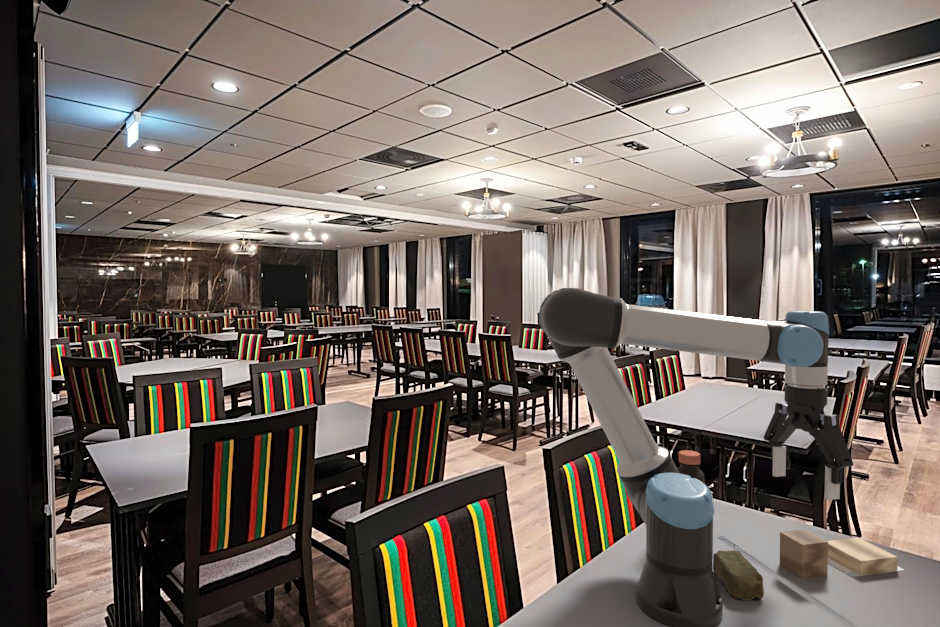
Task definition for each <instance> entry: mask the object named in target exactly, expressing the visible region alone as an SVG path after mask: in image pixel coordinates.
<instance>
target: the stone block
mask: <svg viewBox="0 0 940 627" xmlns="http://www.w3.org/2000/svg"><path fill="white" fill-rule="evenodd" d="M712 570H713V573H714V575H716V577H717V578H718V579H719V581H720V582H722V584H723V585H724V588H726V590H727V591H728V592H729V594H730V595H731V596H732V597H733V598H734V599H741V600H742V601H752V600H753V599H755V598H757V599H760V600H761V599H763V597H764V595H765V592H764V591H765V589H764V588H765V587H764V577H763V576H762V574H760V573H759V572H758V570H757V568H756V567H754V566H753V564H752V563H751V562H750V561H749V560H748V559H747V558H746V557H745V556H744V555H743V553H741V552H740V551H739V550H736V549H734V550H718V551H717V552H714V553H713V560H712Z"/></svg>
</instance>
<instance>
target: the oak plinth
mask: <svg viewBox="0 0 940 627" xmlns="http://www.w3.org/2000/svg"><path fill="white" fill-rule="evenodd" d="M826 541H827V542H828V557H829V558H830V559H832V560H834V561H836V562H837V563H839V564H841V565H843V566H845V567H846V568H848V569H850V570H852V571H853V572H855V573H857V574H859V575H861V576H860V577H862V575H864V576H871V575H870V574H872V575H878V573H880V574H887V573H894V572H893V571H895V572H898V571H897V566H898V556H897V555H895V554H893V553H890V552H888V551H886V550H884V549H883V548H880V547H879V546H876V545H874V544H872V543H870V542H868V541H866V540H864V539H861V538H860V537H852V538H851V537H850V538H843V539H835V540H834V539H832V540H826ZM886 572H887V573H886Z"/></svg>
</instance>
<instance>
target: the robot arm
mask: <svg viewBox="0 0 940 627" xmlns="http://www.w3.org/2000/svg"><path fill="white" fill-rule="evenodd" d="M538 321H539V325H540V327H541V329H542V331H543V332H544V333H545V335H546V336H547V338H548V340H549V342H550V344H551V346H552V348H553V350H554V352H555V353H556V356H557V357H558V359H559V361H561V362H565V363H567V364H569V365H570V367H571V369H572V371H573V373H574V375H575V377H576V379H577V381H578V383H579V385H580V387H581V389H582V390H583V393H584V396H586V399H587V400H588V403H589V404H590V406H591V409H592V410H593V412H594V414H595V415H596V416H595V417H596V418H597V420H598V423H600V424H599V425H600V426H601V428H602V429H603V431H604V434H605V435H606V437H607V438H606V439H608V442H609V443H610V445H611V447H612V450H613V451H614V453H615V455H616V457H617V459H618V461H619V462H618V464H617V468H616V473H617V474H618V477H619V479H620V480H621V482H622V484H623V486H624V489H625V492H626V495H627V498H628V500H630V503H631V504H632V505H633V507H635V509H636V511H637V512H638V514H639V516H640V518H641V520H642V522H644V524H645V528H646V530H645V536H646V537H645V541H646V542H645V547H646V548H645V549H646V550H645V562H644V564H643V567H642V570H641V573H640V577H639V580H638V581H637V585H636V594H635V595H636V599H635V600H636V603H637V605H638V606H639V608H640V609H641V610H642V611H643V613H645V614H646V615H648V616H649V617H650V618H651V619H654V620H655V621H657V622H659V623H662V624H664V625H667V626H669V627H715V626H716V625H719V623H720V622H721V621H722V619H723V615H724V613H723V612H724V611H723V607H724V604H723V600H722V596H721V593H720V590H719V587H718V584H717V580H716V578H715V573H714V571H713V555H714V551H713V550H714V549H713V548H714V514H715V506H714V502H713V494H712V491H711V489H710V488H709V486H707V485H706V484H705V482H704V483H703V482H701V481H700V480H698V479H696V478H691V477H690V476H688V475H684V474H680V473H679V471H678V468H677V466H676V463H675V462H674V460H673V458H672V456H671V454H670V452H669V450H668V449H667V448H666V447H663V446H659V445H658V444H657V443H656V441H655V439H654V437H653V435H652V433H651V431H650V429H649V427H648V425H647V424H646V423H647V422H645V419H644V417H643V415H642V414H641V411H640V410H639V407H638V406H637V404H636V402H635V400H634V397H633V396H632V394H631V392H630V390H629V388H628V386H627V384H626V382H625V381H624V378H623V376H622V375H621V373H620V370H619V369H618V366H617V364H616V363H615V361H614V358H613V357H612V355H611V353H610V351H609V349H614V350H615V349H617V348H618V347H619V346H621V345H630V346H636V347H645V348H652V349H658V350H659V349H660V350H661V349H662V350H668V351H669V350H670V351H678V352H685V353H694V354H700V355H701V354H702V355H709V356H710V355H711V356H717V357H726V358H736V359H741V360H752V361H759V362H763V363H771V364H772V363H773V364H781V365H784V382H785V383H786V385H785V386H784V402H783V401H782V402H776V403H775V406H774V413H773V415H772V417H771V419H770V421H769V424H768V426H767V428H766V430H765V433H764V434H763V440H764V441H767V442H768V443H769V445H770V446H771V447H770V448H771V450H770V457H771V460H772V474H771V475H772V477H774V478H778V477H786V476H787V475H786V474H787V473H786V469H787V463H786V462H787V446H785V445H786V444H785V443H786V441H787V440H788V439H789V438H790V437H791V435H793V433H794V432H795V431H796V430H802V431H803V432H806V433H808V434H809V435H810V436H811V437H813V438H814V441H815V443H816V444H817V446H818V448H819V449H820V451H821V453H822V455H823V456H824V458H825V460H826V462H827V463H828V464H827V465H825V466H824V468H825V469H824V471H825V472H824V500H827V501H829V500H830V501H832V500H840V496H841V494H840V493H841V492H840V491H841V485H842V484H843V472H844V470H843V469H844V468H847V467H853V466H854V461H853V459H852V455H851V453H850V451H849V448H848V445H847V443H846V440H845V437H844V434H843V432H842V430H841V429H842V428H841V426H840V417H839V415H837V414H825V411H824V409H825V407H826V406H827V405H828V389H827V388H826V387H825V386H827V385H828V371H829V370H828V367H829V364H828V362H829V336H830V326H829V325H830V324H829V317H828V315H827V314H826V312H824V311H815V310H814V311H813V310H812V311H811V310H795V311H793V310H790V311H787V312H786V314H785V318H784V320H760V319H752V318H743V317H738V316H737V317H735V316H727V315H719V314H709V313H702V312H693V311H685V310H677V309H671V308H670V309H669V308H659V307H654V306H646V305H645V306H644V305H637V304H629V303H628V304H627V303H626V302H625V300H623V297H622V298H621V297H613V296H609V295H607V296H606V295H603V294H599V293H595V292H592V291H588V290H584V289H582V288H576V287H562V288H559V289H557V290H554V291H552V292H551V293H549V294H547V296H546V297H544V299H543V301H542V302H541V304H540V306H539V311H538Z"/></svg>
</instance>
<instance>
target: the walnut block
mask: <svg viewBox="0 0 940 627" xmlns="http://www.w3.org/2000/svg"><path fill="white" fill-rule="evenodd" d="M827 541H828V540H825V539H823V538H822V537H819V536H817V535H816V534H814V533H812V532H810V531H808V530H807V529H795V530H786V531H780V532H779V565H781V567H784V568H785V569H787V570H788V571H790V572H791V573H793V574H794V575H796V576H798V577H799V578H801V579H802V580H803V579H810V578H819V577H826V576H828V570H829V569H828V566H829V565H828V564H829V563H828V542H827Z"/></svg>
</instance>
